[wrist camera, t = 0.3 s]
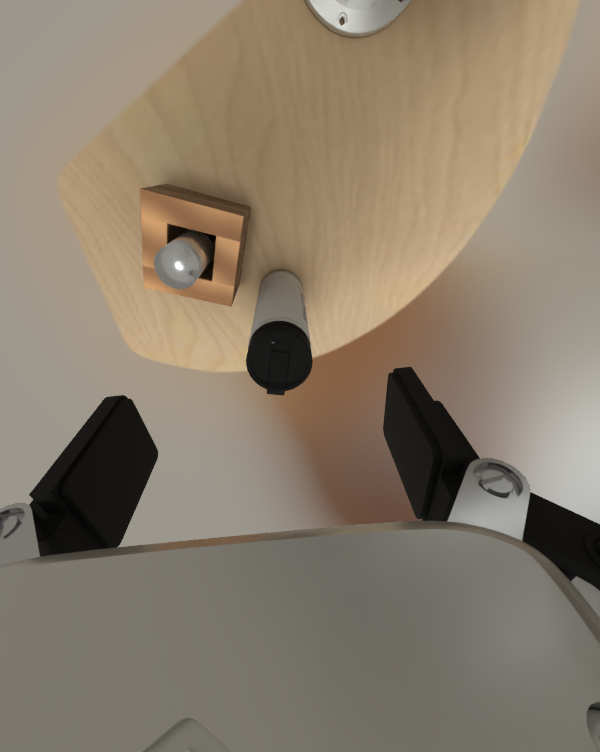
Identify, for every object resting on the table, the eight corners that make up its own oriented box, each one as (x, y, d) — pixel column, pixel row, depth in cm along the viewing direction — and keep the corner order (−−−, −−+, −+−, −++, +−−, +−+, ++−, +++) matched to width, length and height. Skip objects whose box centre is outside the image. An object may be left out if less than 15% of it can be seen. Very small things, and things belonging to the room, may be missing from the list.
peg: (178, 225, 34) (153, 240, 27) (215, 235, 34) (199, 252, 28) (177, 261, 36) (154, 283, 29) (212, 270, 37) (196, 293, 30)
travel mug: (257, 310, 46) (242, 393, 29) (261, 266, 42) (247, 332, 26) (298, 316, 46) (306, 399, 30) (306, 272, 43) (319, 341, 26)
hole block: (166, 184, 36) (140, 188, 29) (250, 207, 38) (243, 216, 31) (166, 267, 41) (143, 287, 35) (239, 284, 43) (231, 306, 37)
